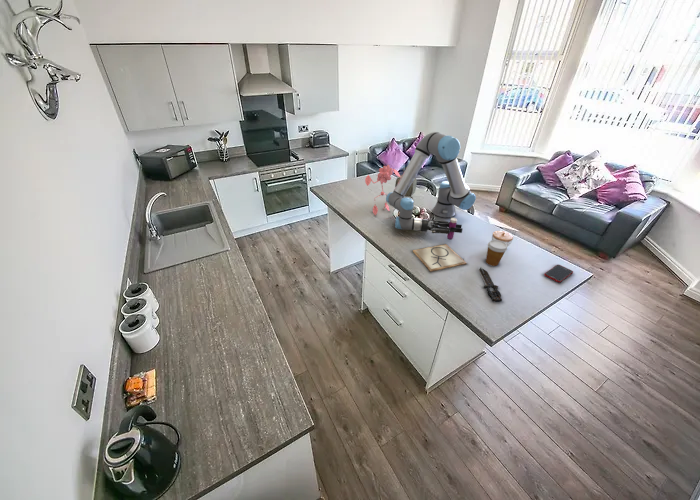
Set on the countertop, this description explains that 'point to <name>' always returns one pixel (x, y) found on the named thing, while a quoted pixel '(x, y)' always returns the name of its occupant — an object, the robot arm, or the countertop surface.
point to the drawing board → (439, 257)
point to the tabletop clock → (411, 188)
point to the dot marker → (452, 224)
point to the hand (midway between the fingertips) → (461, 228)
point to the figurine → (382, 177)
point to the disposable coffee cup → (495, 252)
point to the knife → (491, 286)
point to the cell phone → (558, 273)
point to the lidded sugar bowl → (502, 237)
